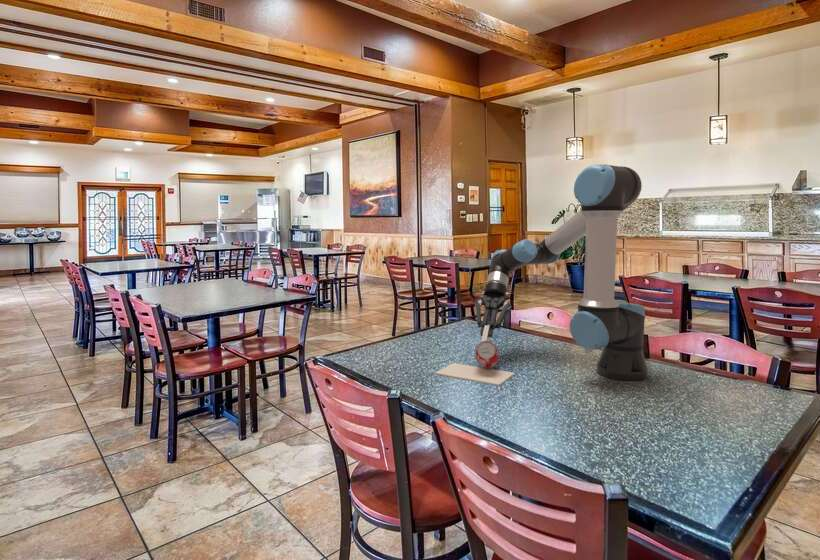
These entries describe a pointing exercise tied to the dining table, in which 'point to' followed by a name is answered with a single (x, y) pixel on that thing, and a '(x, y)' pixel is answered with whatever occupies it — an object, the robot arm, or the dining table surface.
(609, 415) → the dining table surface
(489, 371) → the mat
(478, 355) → the soda can
